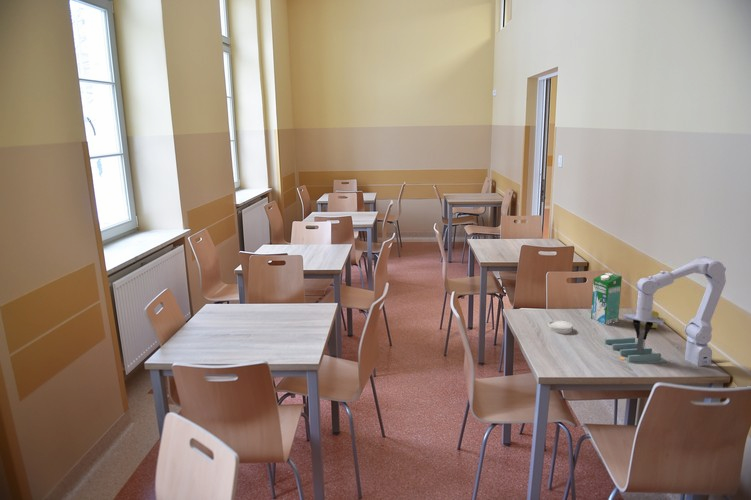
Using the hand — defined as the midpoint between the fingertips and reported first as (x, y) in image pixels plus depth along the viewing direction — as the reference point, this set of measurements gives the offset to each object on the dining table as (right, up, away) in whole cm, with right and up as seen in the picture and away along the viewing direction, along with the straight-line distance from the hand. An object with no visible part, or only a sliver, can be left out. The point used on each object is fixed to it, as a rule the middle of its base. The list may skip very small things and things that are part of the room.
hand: (641, 338), depth 219 cm
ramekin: (-23, -4, +31) cm, 39 cm away
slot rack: (-1, -8, +8) cm, 11 cm away
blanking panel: (0, -5, +1) cm, 5 cm away
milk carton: (+4, 0, +45) cm, 45 cm away
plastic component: (+23, 0, +45) cm, 50 cm away
